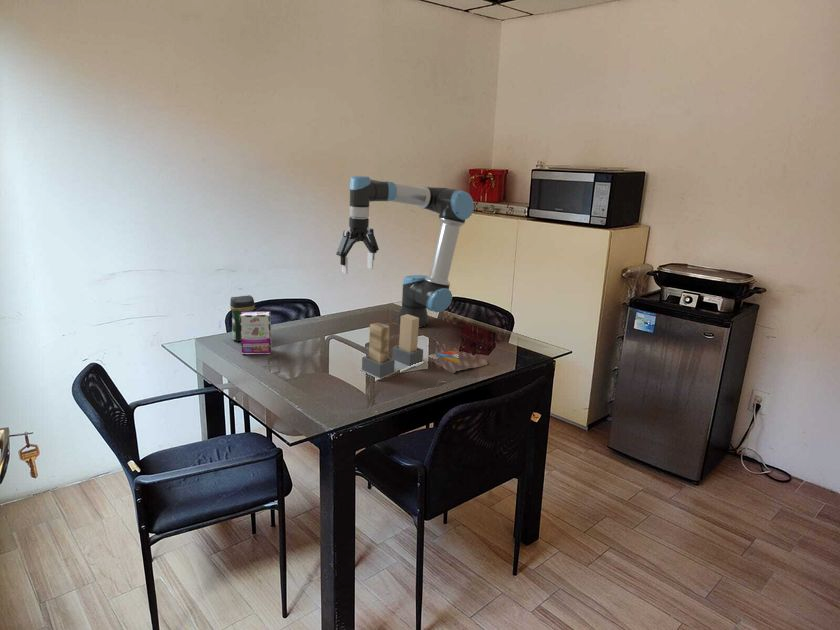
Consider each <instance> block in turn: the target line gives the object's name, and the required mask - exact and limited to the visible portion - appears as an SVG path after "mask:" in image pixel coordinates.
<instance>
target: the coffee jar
mask: <svg viewBox="0 0 840 630" xmlns="http://www.w3.org/2000/svg"><path fill="white" fill-rule="evenodd" d="M255 305H256V304H255V299H254V297H253V296H252V295H249V294H248V295H240V296H231V297H230V301H229V307H230V310H231V313H232V314H231V315H232V320H231V321H232V323H231V325H232V326H231V338H232V340H233V341H234V340H236V341H235V342H237V341H241V325H240V315H241V312H255V311H254V310H255V307H256V306H255Z"/></svg>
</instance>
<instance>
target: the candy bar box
mask: <svg viewBox="0 0 840 630" xmlns="http://www.w3.org/2000/svg"><path fill="white" fill-rule="evenodd" d="M271 323H272V321H271V311H253V312H241V315H240V325H241V342H240V343H241V353H242V352H243V353H271V354H272V327H271V326H272V325H271Z"/></svg>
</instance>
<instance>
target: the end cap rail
mask: <svg viewBox="0 0 840 630" xmlns="http://www.w3.org/2000/svg"><path fill="white" fill-rule="evenodd" d="M418 340H419V318H418V317H415V316H412V315H409V314H406V315H403V316H401V320H400V324H399V339H398V345H395V346H393V347H392V350H391V351H392V354H391V357H389V356H388V361H386V362H384V363H381V364H380V363H378V362H375V361H373V360H371V359H369V354H368V355H365V356H362V358H361V369H359V372H360V371H361V372H364V373H367V374H368V375H371V376H373V377H376V378H383V377H385V376H388V375H390V374H393V373H395V372H397V371H398V370H401V369H404V368H406V367H408V366H411V365H413V364H416V363H419V362H422V361H424V360H423V359H424V349H423V348H421V347H418Z"/></svg>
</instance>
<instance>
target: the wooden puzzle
mask: <svg viewBox="0 0 840 630" xmlns="http://www.w3.org/2000/svg"><path fill="white" fill-rule="evenodd" d="M436 354H437V356H436ZM458 356H459V355H458V354H456V351H455V352H454V350H449V351H438V352H437V353H432V354H429V355H427V357H430V358H433V359H438V358H439V357H441V358H443V359H445V360H449V361H451V362H454V363H460V362H459V359H457V358H459V357H458Z"/></svg>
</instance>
